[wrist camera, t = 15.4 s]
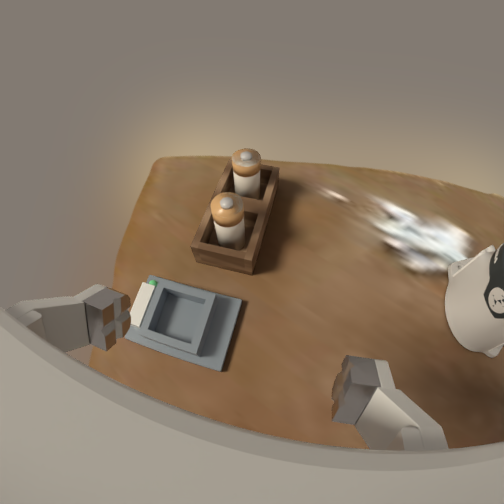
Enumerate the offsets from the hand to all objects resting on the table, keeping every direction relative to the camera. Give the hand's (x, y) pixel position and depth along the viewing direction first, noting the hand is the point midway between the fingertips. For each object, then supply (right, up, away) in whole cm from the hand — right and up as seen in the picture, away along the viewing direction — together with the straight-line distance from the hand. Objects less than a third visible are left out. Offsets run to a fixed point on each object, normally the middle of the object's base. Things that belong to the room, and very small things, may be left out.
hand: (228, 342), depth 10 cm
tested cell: (-2, +5, +33) cm, 34 cm away
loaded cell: (0, +12, +37) cm, 39 cm away
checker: (-9, -6, +28) cm, 30 cm away
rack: (-1, +8, +36) cm, 37 cm away
